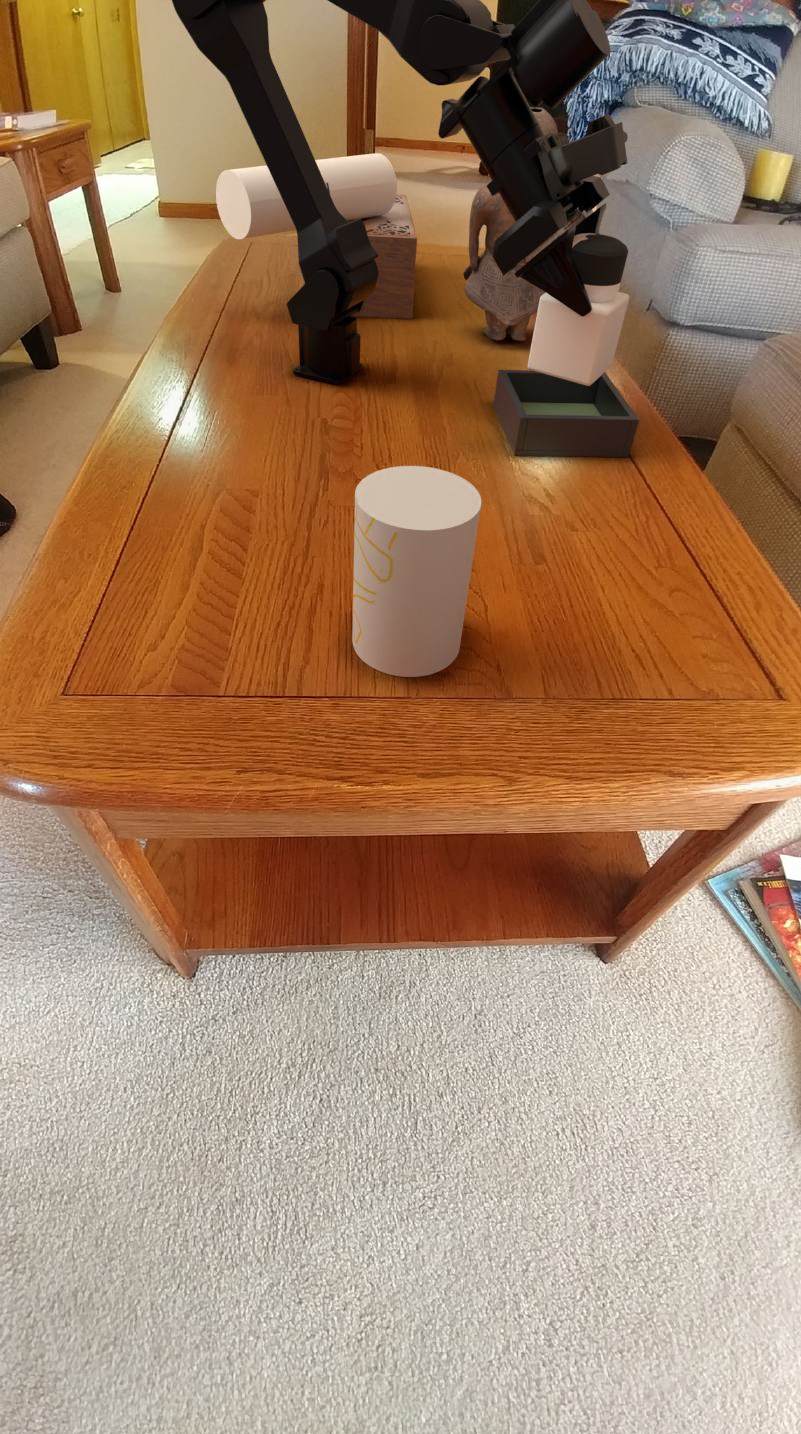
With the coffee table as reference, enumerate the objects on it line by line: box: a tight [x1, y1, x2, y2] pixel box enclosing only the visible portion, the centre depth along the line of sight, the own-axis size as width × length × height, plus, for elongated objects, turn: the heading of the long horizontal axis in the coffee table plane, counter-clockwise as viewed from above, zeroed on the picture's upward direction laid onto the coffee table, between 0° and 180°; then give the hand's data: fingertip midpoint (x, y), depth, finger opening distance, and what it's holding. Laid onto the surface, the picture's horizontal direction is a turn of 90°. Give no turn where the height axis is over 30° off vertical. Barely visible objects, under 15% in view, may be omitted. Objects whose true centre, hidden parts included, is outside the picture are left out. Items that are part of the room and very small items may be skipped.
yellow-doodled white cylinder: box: [351, 465, 482, 678], centre depth 53 cm, size 8×8×12 cm
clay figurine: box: [462, 106, 559, 342], centre depth 96 cm, size 13×10×25 cm
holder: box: [492, 369, 640, 458], centre depth 83 cm, size 13×13×4 cm
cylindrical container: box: [215, 152, 398, 240], centre depth 99 cm, size 7×7×25 cm
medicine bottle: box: [527, 233, 630, 386], centre depth 76 cm, size 7×7×12 cm
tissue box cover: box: [348, 193, 418, 320], centre depth 113 cm, size 26×14×10 cm, turn 3°
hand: (597, 303), depth 75 cm, fingers closed on medicine bottle, 7 cm apart
